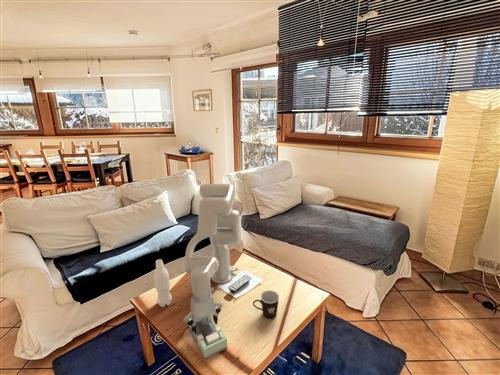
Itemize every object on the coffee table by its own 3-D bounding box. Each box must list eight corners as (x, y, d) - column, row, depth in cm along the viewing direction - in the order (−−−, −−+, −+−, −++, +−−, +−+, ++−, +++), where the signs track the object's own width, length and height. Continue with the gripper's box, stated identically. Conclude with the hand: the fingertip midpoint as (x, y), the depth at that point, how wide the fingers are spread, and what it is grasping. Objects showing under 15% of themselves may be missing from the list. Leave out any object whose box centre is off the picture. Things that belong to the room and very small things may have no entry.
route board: (208, 316, 128) (208, 307, 126) (227, 347, 111) (226, 338, 110) (188, 325, 123) (187, 316, 121) (204, 359, 106) (203, 349, 105)
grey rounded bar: (193, 320, 124) (192, 312, 123) (203, 316, 127) (202, 307, 125) (209, 351, 109) (208, 342, 107) (220, 345, 111) (219, 336, 110)
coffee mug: (280, 309, 131) (280, 292, 128) (276, 322, 123) (276, 305, 120) (257, 304, 135) (257, 287, 131) (252, 316, 127) (252, 299, 124)
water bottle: (159, 310, 132) (152, 266, 124) (156, 301, 138) (150, 259, 130) (173, 305, 135) (168, 262, 127) (170, 296, 141) (165, 255, 134)
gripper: (217, 282, 119) (219, 313, 124) (178, 296, 111) (183, 329, 116) (224, 291, 113) (226, 324, 118) (184, 308, 105) (188, 342, 110)
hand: (205, 326), depth 117 cm, fingers open, 9 cm apart
